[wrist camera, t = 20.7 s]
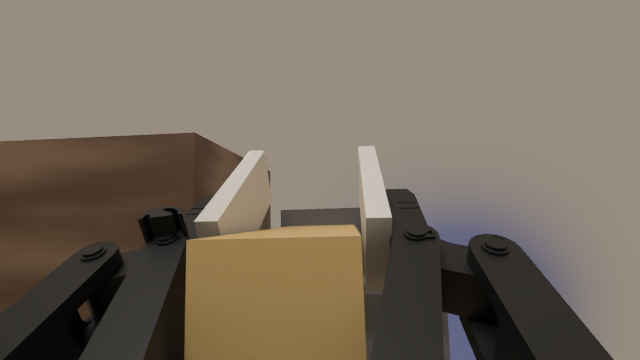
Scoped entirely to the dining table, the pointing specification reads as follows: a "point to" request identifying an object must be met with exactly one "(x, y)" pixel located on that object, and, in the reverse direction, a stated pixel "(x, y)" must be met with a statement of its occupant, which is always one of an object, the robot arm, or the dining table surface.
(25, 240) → the stand
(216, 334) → the block
